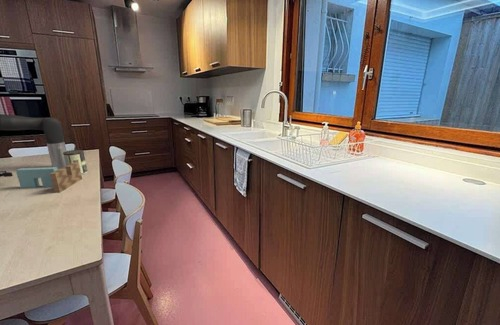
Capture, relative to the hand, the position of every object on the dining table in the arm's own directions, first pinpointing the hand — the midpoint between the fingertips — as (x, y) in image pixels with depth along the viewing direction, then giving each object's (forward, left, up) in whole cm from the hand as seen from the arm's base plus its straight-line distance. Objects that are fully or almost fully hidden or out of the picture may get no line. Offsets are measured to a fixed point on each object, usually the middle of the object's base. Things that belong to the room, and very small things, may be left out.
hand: (4, 176), depth 125 cm
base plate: (0, +30, -6) cm, 31 cm away
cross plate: (0, +16, -6) cm, 17 cm away
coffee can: (-21, +23, -6) cm, 32 cm away
